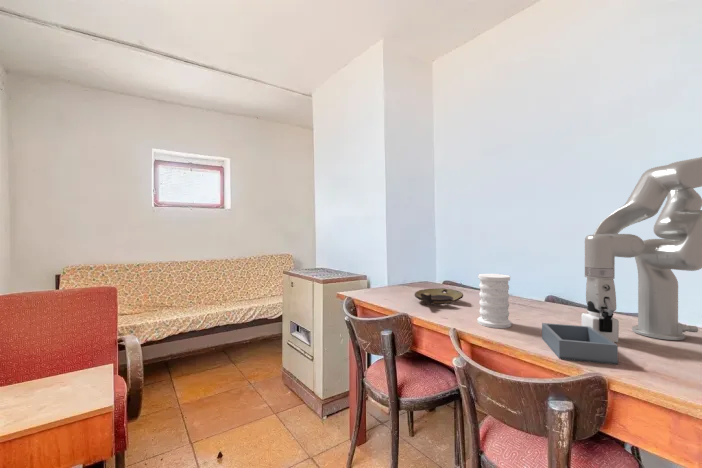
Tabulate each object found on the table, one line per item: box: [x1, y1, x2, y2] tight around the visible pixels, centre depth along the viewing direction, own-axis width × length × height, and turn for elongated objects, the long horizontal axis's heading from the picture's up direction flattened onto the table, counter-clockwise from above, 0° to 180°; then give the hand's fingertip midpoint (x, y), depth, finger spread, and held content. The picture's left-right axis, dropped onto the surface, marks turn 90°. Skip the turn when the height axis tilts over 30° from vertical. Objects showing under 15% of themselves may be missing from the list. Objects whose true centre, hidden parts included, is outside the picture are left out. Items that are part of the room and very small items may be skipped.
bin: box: [541, 322, 619, 366], centre depth 91 cm, size 13×17×5 cm
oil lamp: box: [414, 287, 464, 306], centre depth 152 cm, size 22×30×8 cm
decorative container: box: [476, 273, 512, 329], centre depth 118 cm, size 12×12×18 cm
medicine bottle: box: [581, 301, 620, 344], centre depth 101 cm, size 7×7×12 cm
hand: (599, 327), depth 101 cm, fingers open, 8 cm apart
